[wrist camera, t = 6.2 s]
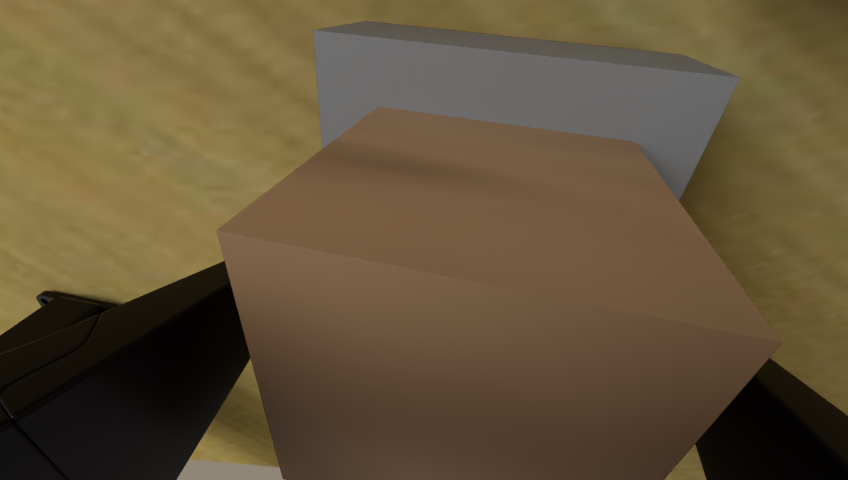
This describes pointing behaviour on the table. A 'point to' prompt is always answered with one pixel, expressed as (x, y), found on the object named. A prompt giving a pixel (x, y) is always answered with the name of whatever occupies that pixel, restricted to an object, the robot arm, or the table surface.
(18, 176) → the table surface
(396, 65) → the base block
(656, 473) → the walnut cube
